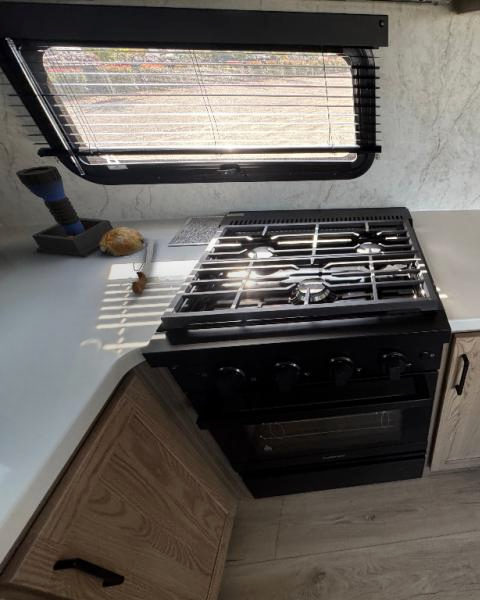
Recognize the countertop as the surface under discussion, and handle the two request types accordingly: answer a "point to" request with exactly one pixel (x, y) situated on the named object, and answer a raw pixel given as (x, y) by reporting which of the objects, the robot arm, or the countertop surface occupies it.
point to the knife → (143, 271)
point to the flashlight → (52, 196)
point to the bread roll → (121, 241)
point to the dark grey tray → (73, 238)
